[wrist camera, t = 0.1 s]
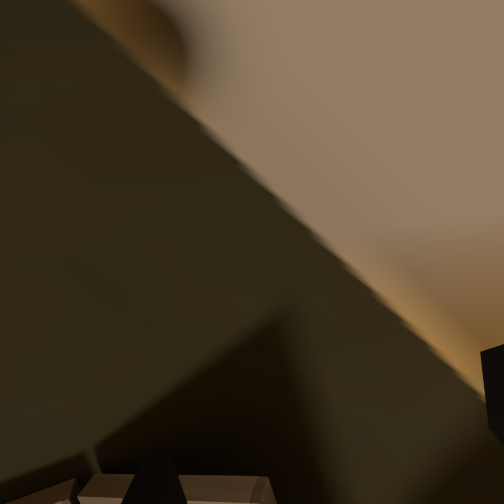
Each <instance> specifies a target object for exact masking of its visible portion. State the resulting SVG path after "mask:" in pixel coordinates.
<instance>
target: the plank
mask: <svg viewBox="0 0 504 504" xmlns="http://www.w3.org/2000/svg"><path fill="white" fill-rule="evenodd" d="M134 475H135V474H94V475H93V477H92V478H91V479H90V480H89V482H88V483H87V484H86V486H85V487H84V488H83V489H82V491H81V492H80V493H79V495H78V496H77V497H78V499H79V502H80V504H121V502H122V500H123V498H124V496H125V494H126V492H127V490H128V488H129V485H130V483H131V481H132V479H133V477H134ZM178 476H179V479H180V482H181V485H182V488H183V491H184V494H185V497H186V500H187V503H188V504H277V502H276V499H275V496H274V493H273V491H272V488H271V485H270V482H269V479H268V477H259V476H214V475H178Z"/></svg>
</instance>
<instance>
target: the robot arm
mask: <svg viewBox="0 0 504 504" xmlns="http://www.w3.org/2000/svg"><path fill="white" fill-rule="evenodd" d="M480 354H481V363H482V372H483V381H484V390H485V399H486V408H487V417H488V426H489V429H490V430H491V431H492V432H493V433H494V435H495V436H496V437H497V438H498V439H499V440H500V442H501V443H502V444H503V445H504V344H503V345H500V346H497V347H494V348H491V349H487V350H485V351H482V352H480ZM121 504H188V503H187V500H186V497H185V494H184V491H183V488H182V485H181V482H180V479H179V476H178V473H177V470H176V467H175V464H174V461H173V458H172V455H171V452H170V453H167V454H164V455H161V456H158V457H154V458H151V459H148V460H145V461H142V462H141V464H140V465H139V467H138V469H137V471H136V473H135V475H134V477H133V479H132V481H131V483H130V485H129V488H128V490H127V492H126V494H125V496H124V498H123V500H122V502H121Z"/></svg>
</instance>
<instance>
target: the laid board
mask: <svg viewBox="0 0 504 504" xmlns="http://www.w3.org/2000/svg"><path fill="white" fill-rule="evenodd" d="M80 492H81V489H80V487H79V485H78V483H77V481H76V479H75V478H73V479H70V480H68V481H65V482H62V483H60V484H57V485H54V486H52V487H49V488H46V489H43V490H41V491H38V492H35V493H33V494H30V495H27V496H25V497H22V498H19V499H17V500H14V501H11V502H8V503H6V504H80V502H79V499H78V497H77V496H78V495H79V493H80Z"/></svg>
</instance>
